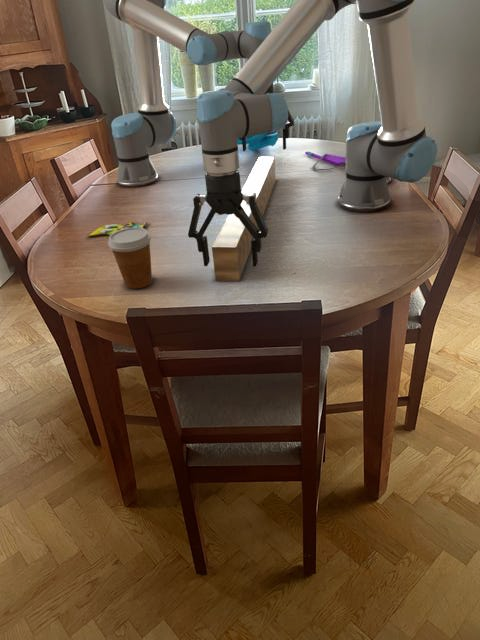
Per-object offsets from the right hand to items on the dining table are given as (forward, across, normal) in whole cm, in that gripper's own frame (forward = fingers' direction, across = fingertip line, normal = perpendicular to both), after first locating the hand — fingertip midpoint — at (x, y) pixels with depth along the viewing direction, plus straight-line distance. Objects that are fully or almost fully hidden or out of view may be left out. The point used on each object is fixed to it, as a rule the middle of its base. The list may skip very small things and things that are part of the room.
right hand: (230, 263), depth 114 cm
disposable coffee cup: (+2, -21, -7) cm, 22 cm away
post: (+2, 0, +32) cm, 32 cm away
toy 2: (+2, -15, +112) cm, 114 cm away
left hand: (-10, 0, +65) cm, 66 cm away
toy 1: (+2, -39, +25) cm, 46 cm away
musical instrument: (+2, +19, +90) cm, 92 cm away
